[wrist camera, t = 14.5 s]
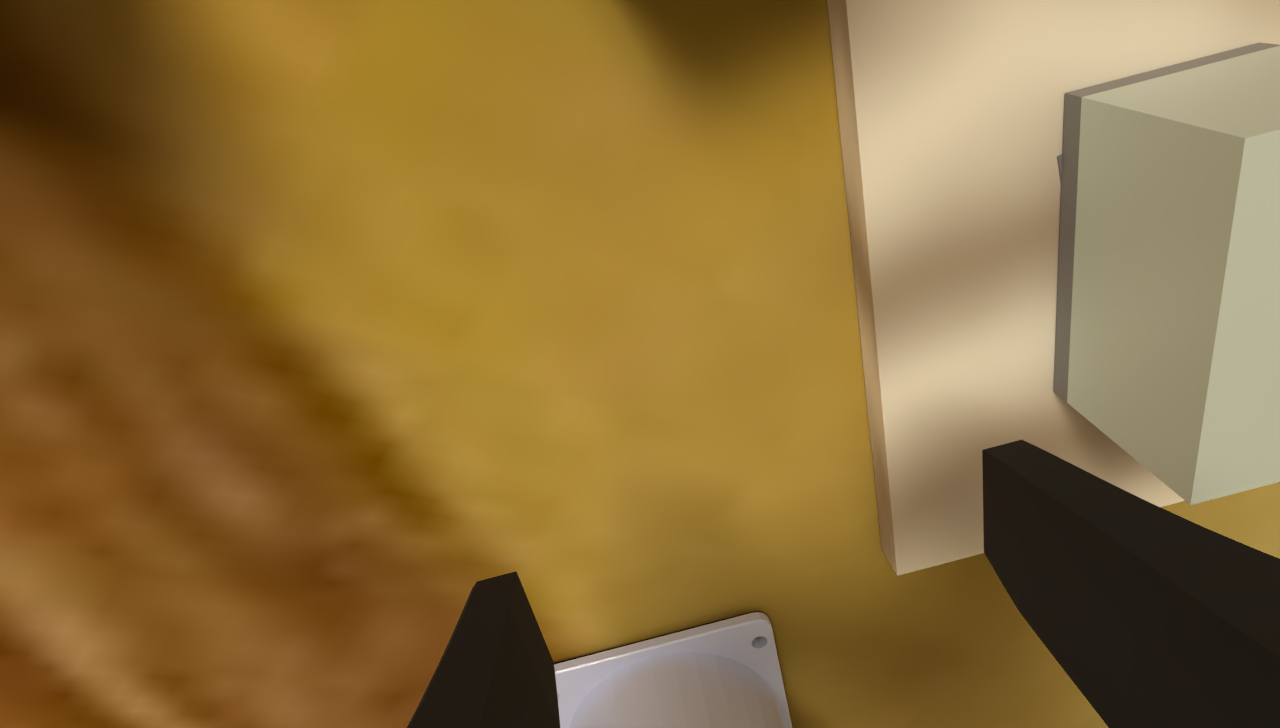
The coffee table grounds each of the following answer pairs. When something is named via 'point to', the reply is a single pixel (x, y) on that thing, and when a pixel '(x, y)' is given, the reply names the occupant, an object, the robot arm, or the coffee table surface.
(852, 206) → the birch board
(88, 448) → the coffee table surface
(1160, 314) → the block
